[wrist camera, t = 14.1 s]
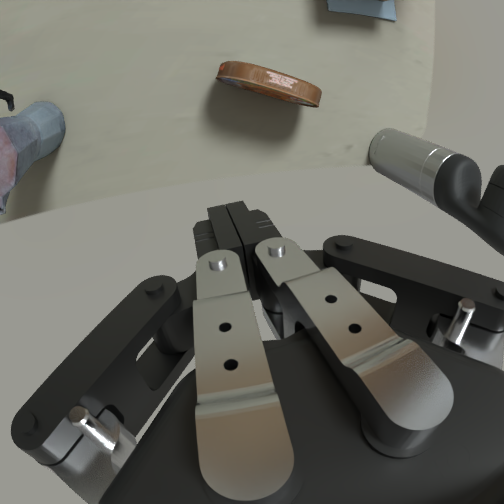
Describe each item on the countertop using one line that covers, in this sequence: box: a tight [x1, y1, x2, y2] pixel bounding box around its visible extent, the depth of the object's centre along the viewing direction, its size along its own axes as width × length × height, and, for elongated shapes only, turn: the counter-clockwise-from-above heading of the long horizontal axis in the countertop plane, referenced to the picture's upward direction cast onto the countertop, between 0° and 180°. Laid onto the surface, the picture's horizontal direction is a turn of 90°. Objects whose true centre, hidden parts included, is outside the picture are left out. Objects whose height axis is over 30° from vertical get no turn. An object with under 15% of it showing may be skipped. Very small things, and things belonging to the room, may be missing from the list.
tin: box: [216, 61, 322, 108], centre depth 38 cm, size 15×3×8 cm, turn 74°
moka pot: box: [0, 90, 65, 215], centre depth 27 cm, size 10×15×20 cm, turn 6°
